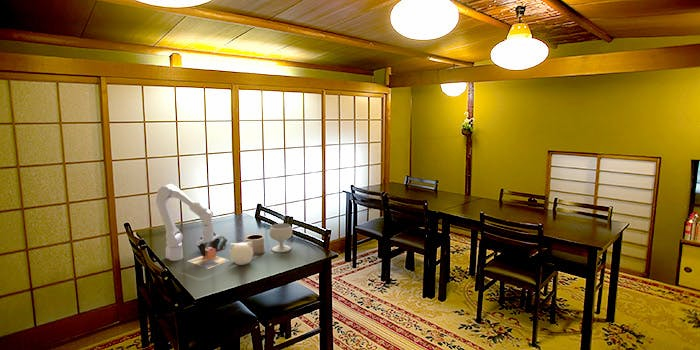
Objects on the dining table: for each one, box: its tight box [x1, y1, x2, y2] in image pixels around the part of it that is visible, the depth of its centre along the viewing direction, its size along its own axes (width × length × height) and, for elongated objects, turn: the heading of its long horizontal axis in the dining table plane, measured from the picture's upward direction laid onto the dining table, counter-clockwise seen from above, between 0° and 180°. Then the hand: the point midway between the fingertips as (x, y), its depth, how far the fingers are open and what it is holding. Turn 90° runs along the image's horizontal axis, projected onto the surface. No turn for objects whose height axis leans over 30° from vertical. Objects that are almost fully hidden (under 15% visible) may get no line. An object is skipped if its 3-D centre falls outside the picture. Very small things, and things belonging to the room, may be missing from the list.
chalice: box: [268, 222, 293, 253], centre depth 234 cm, size 14×14×15 cm
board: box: [187, 255, 231, 270], centre depth 214 cm, size 19×14×4 cm
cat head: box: [228, 242, 254, 266], centre depth 211 cm, size 15×13×12 cm
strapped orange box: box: [203, 247, 217, 260], centre depth 219 cm, size 5×5×5 cm
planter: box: [245, 233, 265, 255], centre depth 230 cm, size 11×11×10 cm
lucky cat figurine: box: [199, 231, 228, 251], centre depth 234 cm, size 15×12×14 cm
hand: (209, 253), depth 219 cm, fingers open, 7 cm apart
